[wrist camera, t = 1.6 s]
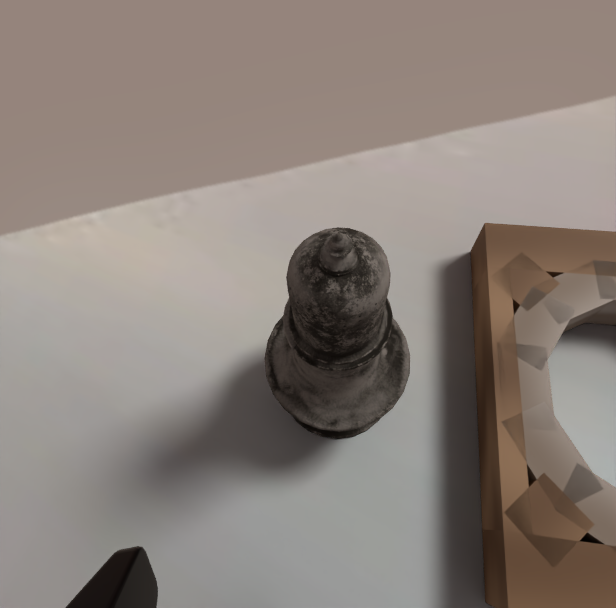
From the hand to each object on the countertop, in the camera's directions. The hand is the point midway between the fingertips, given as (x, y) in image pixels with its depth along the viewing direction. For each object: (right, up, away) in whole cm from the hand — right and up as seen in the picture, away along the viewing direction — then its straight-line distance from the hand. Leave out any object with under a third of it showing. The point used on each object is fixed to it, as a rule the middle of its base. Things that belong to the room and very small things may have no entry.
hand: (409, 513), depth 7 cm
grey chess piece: (0, 0, +14) cm, 14 cm away
